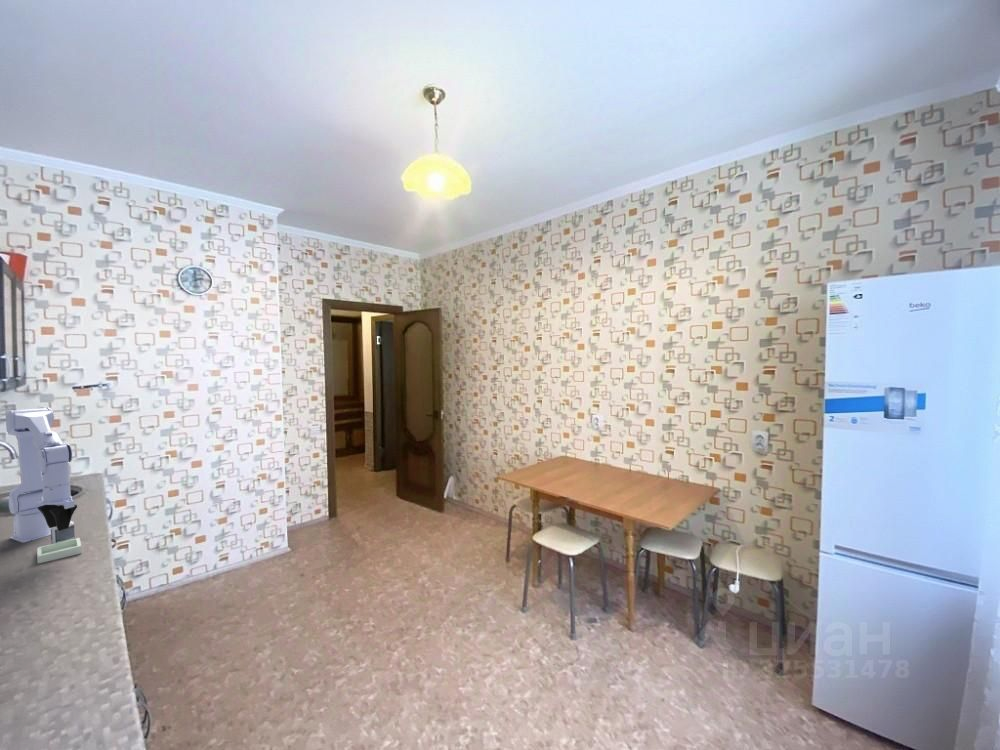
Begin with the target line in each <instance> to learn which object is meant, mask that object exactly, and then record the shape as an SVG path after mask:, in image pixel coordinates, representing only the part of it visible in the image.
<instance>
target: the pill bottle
mask: <svg viewBox="0 0 1000 750" xmlns="http://www.w3.org/2000/svg"><path fill="white" fill-rule="evenodd" d="M50 530H51V535H50V544H54V543H58V542H63V541H67V540H71V539H76V534H75V532H76V530H75V522H74V521H72V520H71V521H70V524H69V527H68V528H67V529H64V530H60V531H59V530H58V529H57V526H56V527H52V528H50Z"/></svg>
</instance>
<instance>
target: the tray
mask: <svg viewBox="0 0 1000 750" xmlns="http://www.w3.org/2000/svg"><path fill="white" fill-rule="evenodd" d="M36 553H37V554H36V555H37V556H36V558H37V561H36V562H37V564H41V563H47V562H50V561H55V560H59V559H63V558H68V557H71V556H75V555H79V554H82V553H83V552H82V542H81V538H80V537H77V538H76V537H75V539H71V540H67V541H63V542H58V543H54V544H51V543H50V544H47V545H46V544H45V545H43V546H38V547H37V552H36Z"/></svg>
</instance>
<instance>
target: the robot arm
mask: <svg viewBox="0 0 1000 750" xmlns="http://www.w3.org/2000/svg"><path fill="white" fill-rule="evenodd" d="M54 423H55V413H54V410H53V409H52V408H51V407H41V408H28V409H27V408H26V409H15V410H12V409H9V410H8V411H7V412H6V414H5V424H6V425H5V427H6V432H7V435H8V436H9V435H10V436H15V438H16V440H17V446H18V459H19V470H20V481H21V482H20V484H19V485H17V486H15V487H14V488H13V489H11V491H9V494H8V495H9V496H8V509H9V512H10V514H12V515H14V517H13V521H12V523H13V524H12V525H13V536H10V537H9V539H12V540H14V541H17V542H20V543H28V542H31V540H32V541H35V540H39V539H42V538H46V537H48V536H50V537H51V528H52V527H56V526H57V529H58V530H59V531H60V530H64V529H67V528H68V527H69V524H70V521H72V517H73V515H74V513H75V511H76V510H77V508H78V504H76V503H75V500H73V496H72V495H71V493H72V492H71V476H70V474H71V473H70V471H71V470H70V463H72V460H73V451H72V447H71V445H70V444H69V443H67V442H65V443H64V442H63V440H62V439H61V437H60V435H59V434H58V433H57V432H56V431H52V429H51V427H52V425H53V424H54Z"/></svg>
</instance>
